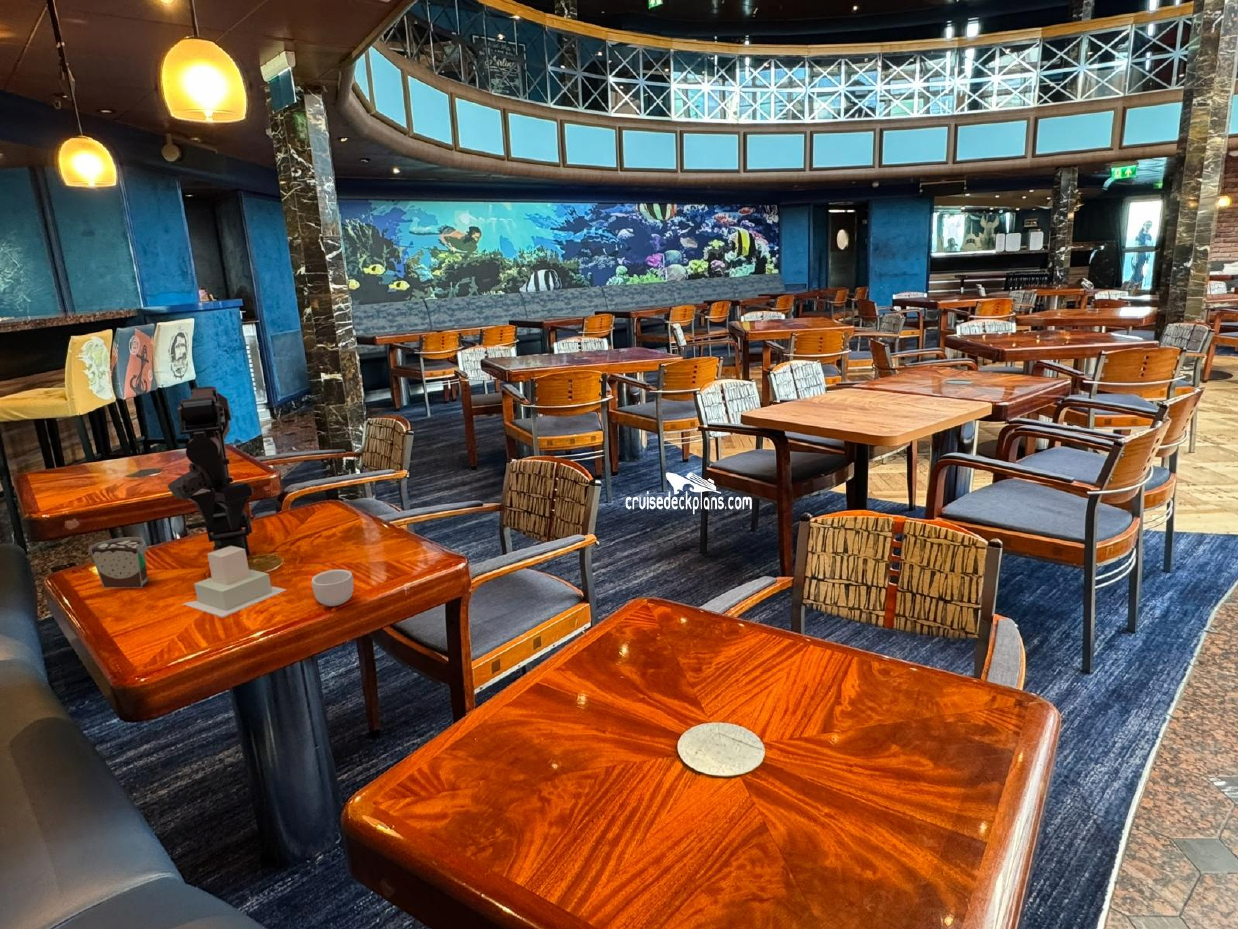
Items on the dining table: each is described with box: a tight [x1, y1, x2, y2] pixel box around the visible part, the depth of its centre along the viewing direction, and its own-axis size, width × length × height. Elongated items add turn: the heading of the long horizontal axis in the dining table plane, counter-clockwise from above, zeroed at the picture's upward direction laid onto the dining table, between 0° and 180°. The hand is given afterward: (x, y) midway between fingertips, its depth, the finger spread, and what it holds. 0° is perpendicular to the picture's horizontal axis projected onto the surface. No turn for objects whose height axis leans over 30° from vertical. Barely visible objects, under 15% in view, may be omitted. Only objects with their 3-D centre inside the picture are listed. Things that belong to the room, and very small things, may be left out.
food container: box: [88, 536, 149, 589], centre depth 164 cm, size 12×6×10 cm, turn 84°
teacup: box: [311, 569, 354, 607], centre depth 149 cm, size 10×8×5 cm
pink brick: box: [206, 546, 250, 585], centre depth 150 cm, size 5×5×6 cm
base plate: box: [183, 585, 287, 619], centre depth 152 cm, size 14×14×1 cm
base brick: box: [193, 568, 272, 611], centre depth 151 cm, size 10×10×4 cm
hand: (221, 526), depth 160 cm, fingers open, 9 cm apart
